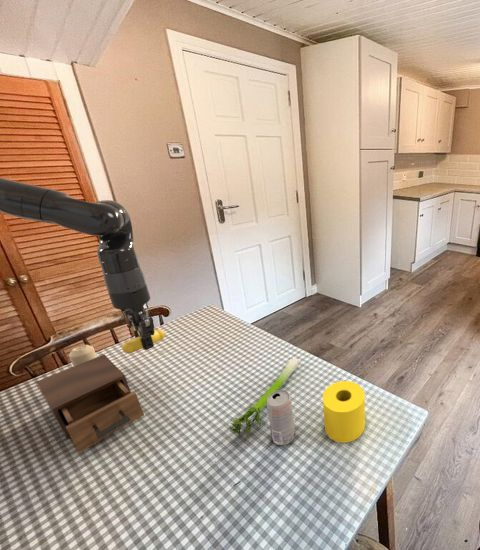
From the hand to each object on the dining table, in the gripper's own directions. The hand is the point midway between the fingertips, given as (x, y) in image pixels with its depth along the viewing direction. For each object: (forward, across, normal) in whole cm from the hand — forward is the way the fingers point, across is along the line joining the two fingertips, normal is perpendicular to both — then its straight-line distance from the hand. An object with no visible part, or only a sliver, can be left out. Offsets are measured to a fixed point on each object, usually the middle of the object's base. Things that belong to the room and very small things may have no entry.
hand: (145, 345), depth 79 cm
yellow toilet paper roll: (+16, +49, +22) cm, 56 cm away
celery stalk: (+16, +27, +17) cm, 35 cm away
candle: (+17, -27, -8) cm, 33 cm away
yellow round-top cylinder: (0, 0, 0) cm, 0 cm away
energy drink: (+16, +40, +11) cm, 44 cm away
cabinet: (+17, -11, -12) cm, 23 cm away
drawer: (+16, +1, -13) cm, 20 cm away
